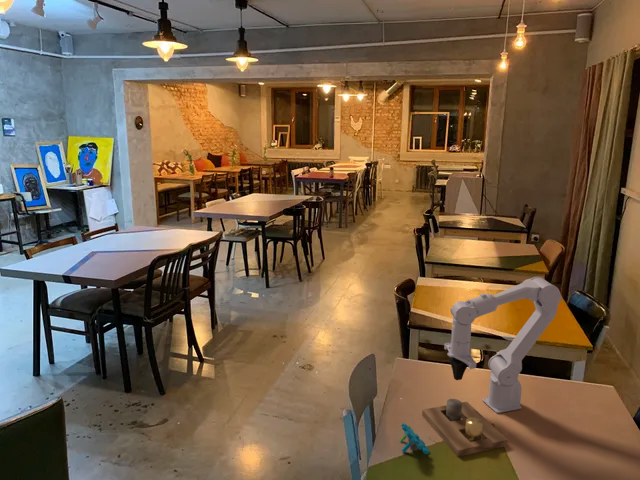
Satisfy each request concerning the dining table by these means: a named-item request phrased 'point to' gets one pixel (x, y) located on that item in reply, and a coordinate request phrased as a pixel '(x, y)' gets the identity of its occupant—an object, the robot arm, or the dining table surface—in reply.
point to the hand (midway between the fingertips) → (457, 378)
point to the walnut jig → (462, 428)
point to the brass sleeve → (473, 429)
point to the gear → (413, 439)
